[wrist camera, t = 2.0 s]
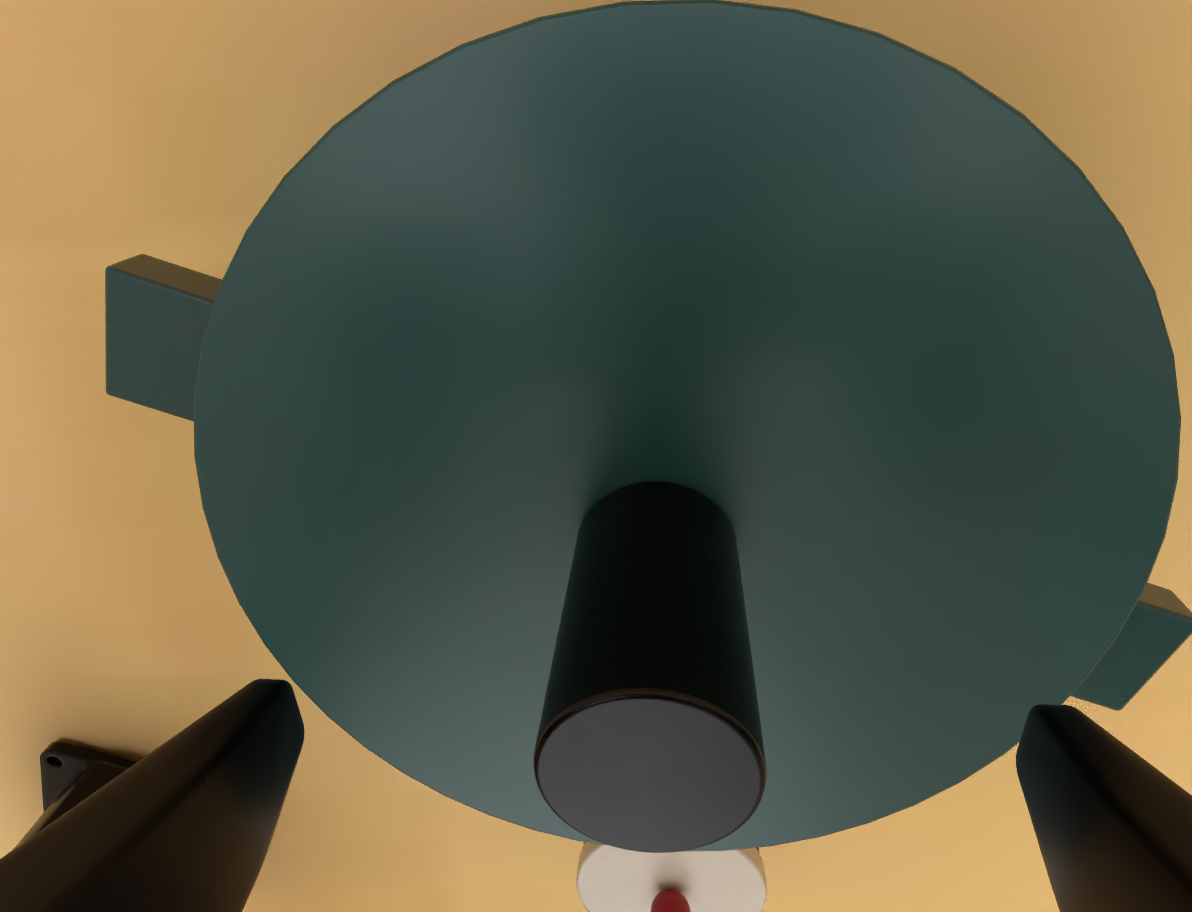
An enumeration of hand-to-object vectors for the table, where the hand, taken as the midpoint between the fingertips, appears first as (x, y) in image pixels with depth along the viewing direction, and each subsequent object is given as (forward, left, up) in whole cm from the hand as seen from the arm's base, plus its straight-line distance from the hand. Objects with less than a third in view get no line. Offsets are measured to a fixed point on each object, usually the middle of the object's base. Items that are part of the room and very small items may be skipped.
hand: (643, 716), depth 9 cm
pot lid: (0, 0, -4) cm, 4 cm away
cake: (-13, -5, -10) cm, 17 cm away
